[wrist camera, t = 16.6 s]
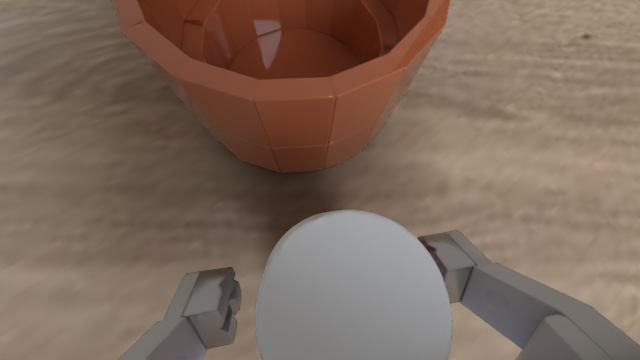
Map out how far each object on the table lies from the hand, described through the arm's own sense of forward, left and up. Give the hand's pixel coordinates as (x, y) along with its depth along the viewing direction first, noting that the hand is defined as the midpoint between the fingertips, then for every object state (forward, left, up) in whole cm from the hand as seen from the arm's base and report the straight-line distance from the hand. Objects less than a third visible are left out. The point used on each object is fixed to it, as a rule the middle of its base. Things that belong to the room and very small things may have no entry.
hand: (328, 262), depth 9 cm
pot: (-5, +10, -4) cm, 12 cm away
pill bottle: (0, -1, -5) cm, 5 cm away
